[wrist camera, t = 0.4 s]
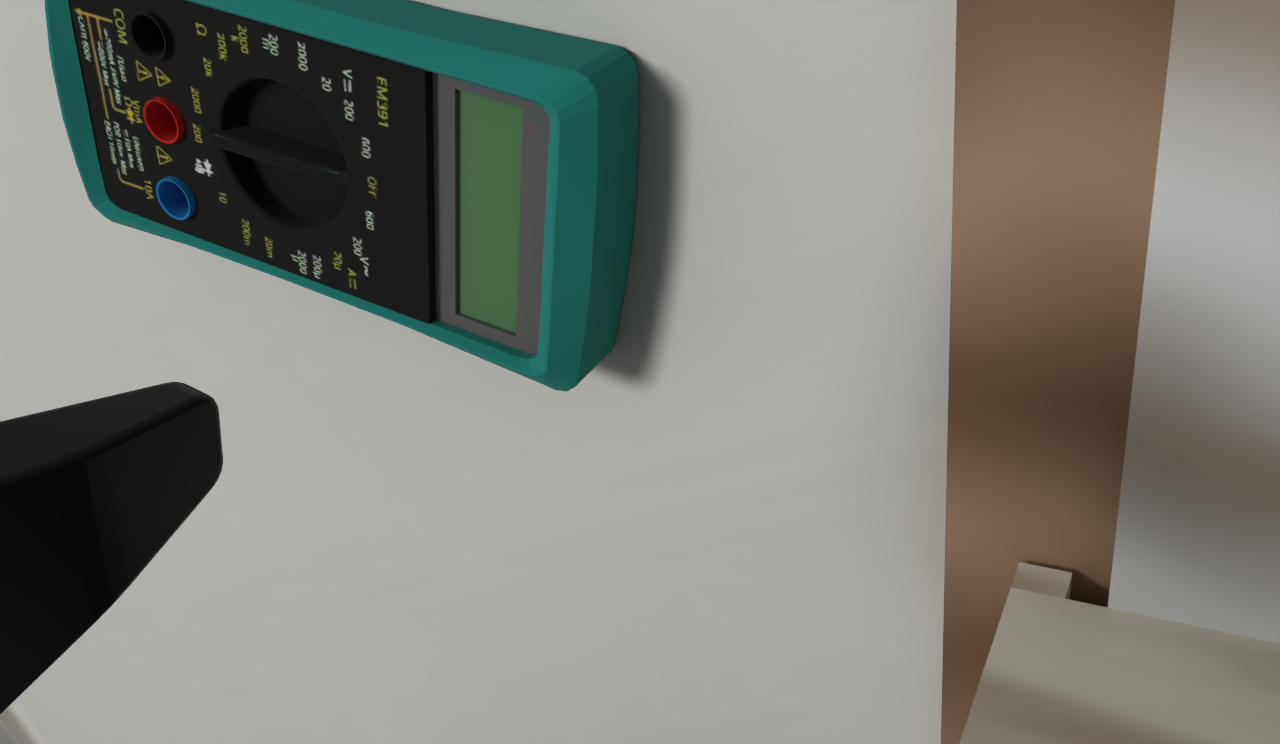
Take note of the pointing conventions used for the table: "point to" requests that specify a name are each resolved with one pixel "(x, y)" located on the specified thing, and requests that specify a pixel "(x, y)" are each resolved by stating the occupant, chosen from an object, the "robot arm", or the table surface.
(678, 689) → the table surface
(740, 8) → the table surface
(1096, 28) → the din panel
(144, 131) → the digital multimeter
